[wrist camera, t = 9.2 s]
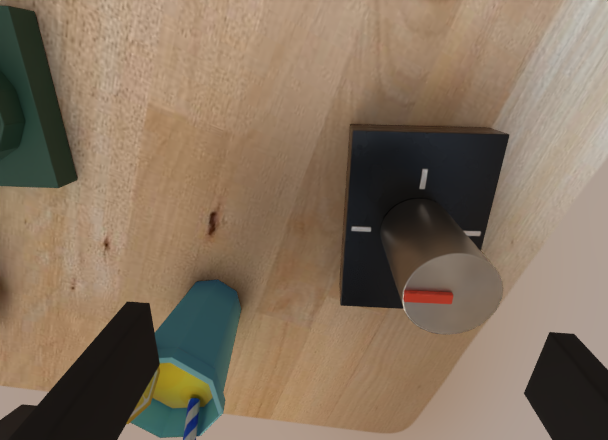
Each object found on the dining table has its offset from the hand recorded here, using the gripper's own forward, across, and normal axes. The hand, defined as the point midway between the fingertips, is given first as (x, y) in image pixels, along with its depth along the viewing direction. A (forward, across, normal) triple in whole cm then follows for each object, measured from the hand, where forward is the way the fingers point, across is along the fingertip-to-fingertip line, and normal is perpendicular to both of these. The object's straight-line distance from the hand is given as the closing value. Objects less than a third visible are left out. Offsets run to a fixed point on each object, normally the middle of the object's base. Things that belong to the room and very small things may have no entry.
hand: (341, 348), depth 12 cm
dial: (+14, +6, -2) cm, 15 cm away
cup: (+17, -10, -13) cm, 23 cm away
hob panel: (+17, +6, -2) cm, 18 cm away
